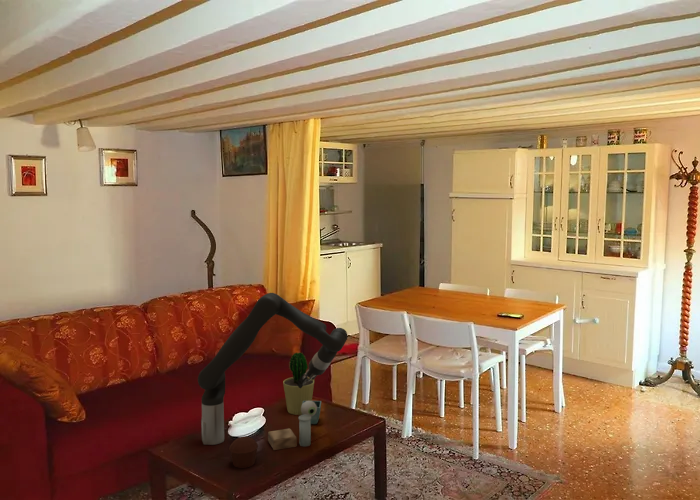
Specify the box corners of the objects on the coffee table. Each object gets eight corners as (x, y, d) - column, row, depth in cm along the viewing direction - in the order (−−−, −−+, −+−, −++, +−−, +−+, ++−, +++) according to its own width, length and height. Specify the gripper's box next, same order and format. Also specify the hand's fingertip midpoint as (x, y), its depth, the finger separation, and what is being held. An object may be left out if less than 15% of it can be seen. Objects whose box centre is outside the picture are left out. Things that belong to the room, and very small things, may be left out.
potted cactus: (319, 407, 294) (319, 348, 292) (306, 418, 280) (306, 356, 277) (292, 403, 300) (291, 346, 297) (277, 413, 285) (277, 353, 283)
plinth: (273, 450, 244) (273, 440, 244) (268, 440, 254) (267, 431, 253) (296, 446, 248) (296, 436, 248) (290, 437, 257) (290, 428, 257)
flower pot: (320, 426, 270) (320, 407, 269) (301, 426, 270) (301, 407, 269) (321, 419, 279) (321, 400, 278) (303, 418, 279) (302, 400, 278)
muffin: (244, 454, 241) (243, 430, 240) (264, 460, 235) (263, 436, 234) (222, 465, 231) (222, 440, 230) (243, 472, 225) (242, 447, 224)
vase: (300, 447, 247) (300, 420, 246) (297, 442, 252) (296, 415, 251) (313, 445, 249) (312, 418, 248) (309, 440, 254) (308, 413, 253)
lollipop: (304, 438, 257) (304, 404, 255) (298, 432, 263) (298, 399, 262) (319, 434, 260) (319, 402, 259) (313, 429, 266) (312, 397, 265)
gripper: (325, 348, 255) (310, 369, 265) (303, 362, 244) (289, 383, 254) (336, 361, 253) (321, 381, 263) (315, 376, 242) (300, 396, 252)
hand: (305, 382), depth 258 cm, fingers open, 8 cm apart
